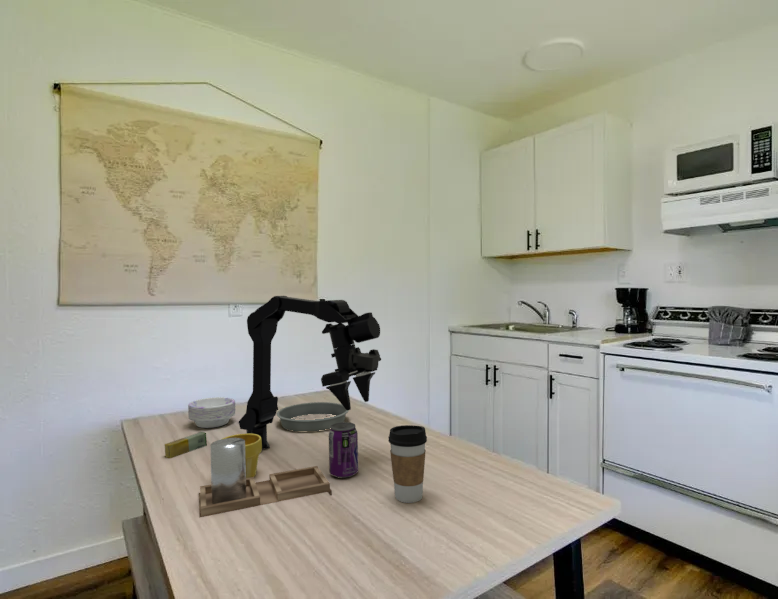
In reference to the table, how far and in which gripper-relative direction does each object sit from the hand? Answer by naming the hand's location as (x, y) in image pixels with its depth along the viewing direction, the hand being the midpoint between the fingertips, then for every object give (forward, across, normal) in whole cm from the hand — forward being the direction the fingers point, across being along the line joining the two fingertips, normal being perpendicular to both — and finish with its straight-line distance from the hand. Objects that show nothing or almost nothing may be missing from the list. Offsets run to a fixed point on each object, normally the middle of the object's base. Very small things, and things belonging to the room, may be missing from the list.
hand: (358, 405), depth 116 cm
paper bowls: (-1, +12, +67) cm, 68 cm away
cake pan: (+7, +27, +37) cm, 46 cm away
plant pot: (+10, -19, +25) cm, 33 cm away
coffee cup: (+20, -11, -14) cm, 27 cm away
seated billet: (+10, -30, +18) cm, 36 cm away
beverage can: (+15, -6, +5) cm, 17 cm away
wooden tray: (+12, -24, +14) cm, 30 cm away
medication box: (+3, -11, +54) cm, 55 cm away
